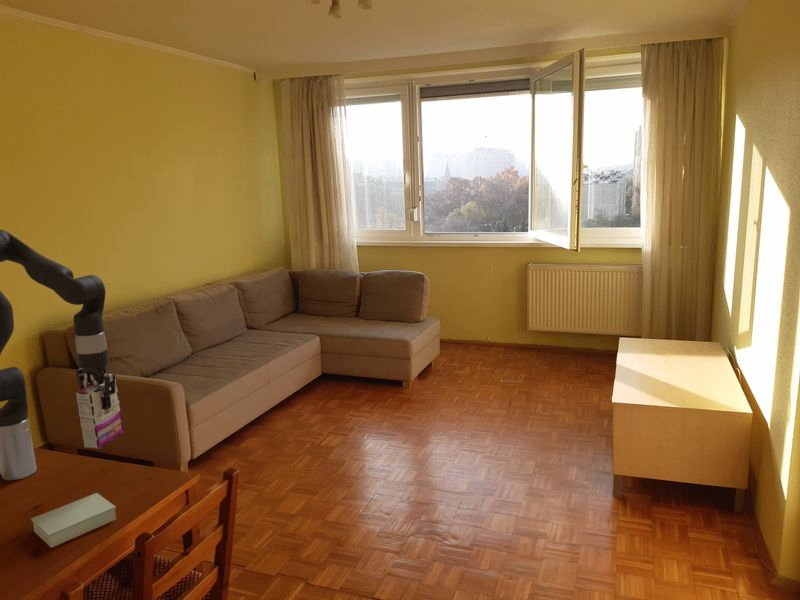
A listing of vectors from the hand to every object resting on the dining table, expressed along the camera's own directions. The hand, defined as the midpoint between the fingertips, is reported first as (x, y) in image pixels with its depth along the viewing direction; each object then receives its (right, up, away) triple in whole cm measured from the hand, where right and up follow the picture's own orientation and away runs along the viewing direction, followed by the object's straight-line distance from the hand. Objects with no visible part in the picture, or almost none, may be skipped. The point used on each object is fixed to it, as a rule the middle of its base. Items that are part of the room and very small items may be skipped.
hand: (99, 406), depth 172 cm
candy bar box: (0, -10, +2) cm, 10 cm away
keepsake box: (0, -29, -12) cm, 32 cm away
